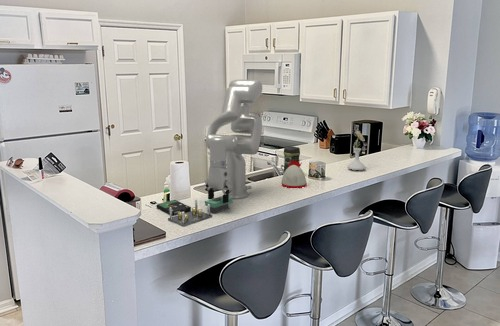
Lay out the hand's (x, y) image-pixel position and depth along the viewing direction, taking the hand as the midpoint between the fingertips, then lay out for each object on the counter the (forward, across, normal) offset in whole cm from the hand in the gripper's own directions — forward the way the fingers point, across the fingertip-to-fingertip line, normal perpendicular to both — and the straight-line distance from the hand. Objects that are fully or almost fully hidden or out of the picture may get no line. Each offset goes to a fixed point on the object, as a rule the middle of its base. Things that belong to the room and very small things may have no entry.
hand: (218, 200), depth 202 cm
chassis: (+5, +1, +16) cm, 17 cm away
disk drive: (+6, +16, +13) cm, 22 cm away
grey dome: (+3, 0, -59) cm, 59 cm away
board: (+2, 0, -1) cm, 2 cm away
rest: (+5, 0, -1) cm, 5 cm away
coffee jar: (+2, +13, -74) cm, 75 cm away
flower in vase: (+1, -7, -117) cm, 117 cm away
